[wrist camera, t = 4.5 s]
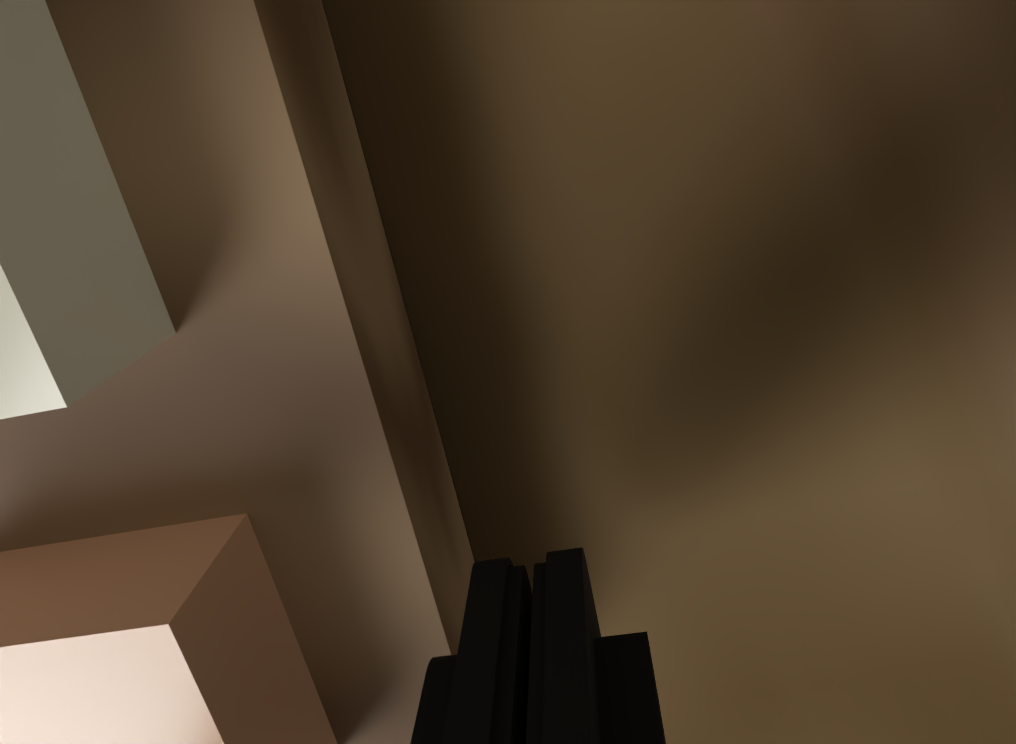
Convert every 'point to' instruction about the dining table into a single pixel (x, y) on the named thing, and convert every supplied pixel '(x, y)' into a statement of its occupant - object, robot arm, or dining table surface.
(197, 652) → the peach block
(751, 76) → the dining table surface
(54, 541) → the walnut board
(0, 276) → the cream tile
